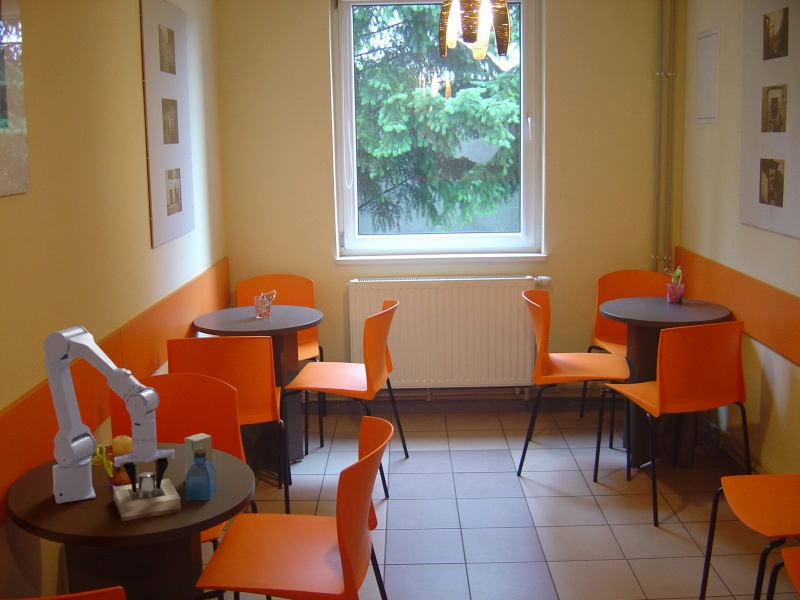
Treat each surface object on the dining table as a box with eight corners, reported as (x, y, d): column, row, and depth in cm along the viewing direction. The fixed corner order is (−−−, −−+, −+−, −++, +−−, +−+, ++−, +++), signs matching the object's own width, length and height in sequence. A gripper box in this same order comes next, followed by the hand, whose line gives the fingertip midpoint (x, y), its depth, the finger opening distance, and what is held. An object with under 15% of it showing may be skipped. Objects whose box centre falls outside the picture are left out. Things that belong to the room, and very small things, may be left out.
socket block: (122, 521, 206) (121, 507, 206) (113, 500, 219) (113, 487, 218) (180, 511, 212) (180, 498, 212) (169, 491, 225) (168, 478, 224)
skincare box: (194, 484, 229) (193, 441, 227) (184, 480, 232) (183, 437, 230) (213, 477, 234) (212, 435, 232) (202, 474, 237) (201, 432, 235)
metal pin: (139, 505, 213) (139, 479, 212) (137, 499, 216) (137, 473, 215) (156, 503, 215) (156, 477, 213) (153, 497, 218) (153, 471, 217)
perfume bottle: (192, 490, 226) (191, 447, 224) (215, 491, 226) (214, 447, 223) (186, 499, 220) (184, 455, 218) (210, 500, 219) (209, 456, 217)
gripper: (116, 446, 206) (118, 499, 208) (177, 438, 212) (178, 490, 214) (112, 437, 212) (114, 489, 214) (171, 430, 218) (172, 480, 221)
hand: (146, 489), depth 215 cm, fingers open, 5 cm apart
